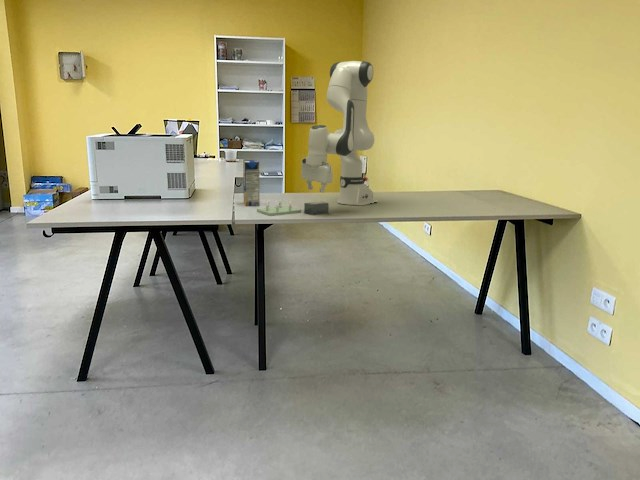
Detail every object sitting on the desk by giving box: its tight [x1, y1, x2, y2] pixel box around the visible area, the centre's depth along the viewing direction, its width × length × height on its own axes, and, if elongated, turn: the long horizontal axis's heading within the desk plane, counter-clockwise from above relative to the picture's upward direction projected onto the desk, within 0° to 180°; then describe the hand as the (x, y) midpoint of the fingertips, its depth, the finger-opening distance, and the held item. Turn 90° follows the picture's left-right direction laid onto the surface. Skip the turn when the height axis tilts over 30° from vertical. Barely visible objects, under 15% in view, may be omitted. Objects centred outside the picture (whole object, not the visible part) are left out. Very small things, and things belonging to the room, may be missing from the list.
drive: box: [303, 201, 329, 216], centre depth 228 cm, size 10×6×5 cm, turn 126°
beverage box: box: [242, 159, 260, 207], centre depth 245 cm, size 7×11×22 cm, turn 14°
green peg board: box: [256, 198, 302, 217], centre depth 228 cm, size 17×12×5 cm
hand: (315, 190), depth 225 cm, fingers open, 8 cm apart
